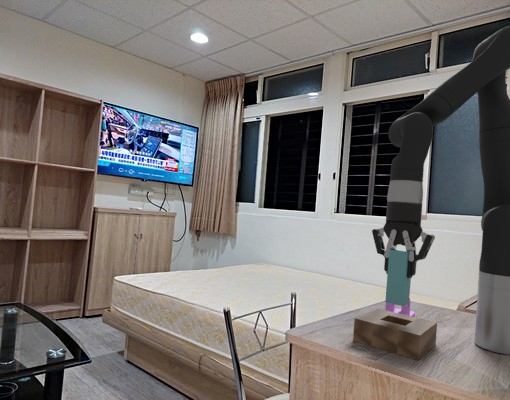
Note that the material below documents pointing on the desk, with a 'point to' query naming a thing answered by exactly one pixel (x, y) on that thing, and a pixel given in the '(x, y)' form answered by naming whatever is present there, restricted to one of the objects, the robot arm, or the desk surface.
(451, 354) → the desk surface
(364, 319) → the socket block
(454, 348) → the desk surface
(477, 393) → the desk surface
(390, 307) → the bracket
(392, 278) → the peg
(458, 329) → the desk surface
